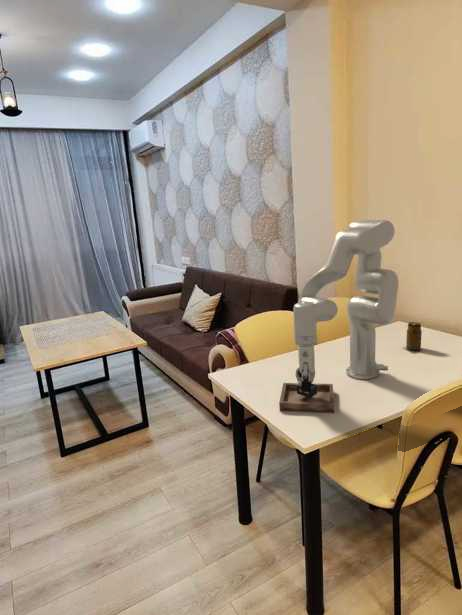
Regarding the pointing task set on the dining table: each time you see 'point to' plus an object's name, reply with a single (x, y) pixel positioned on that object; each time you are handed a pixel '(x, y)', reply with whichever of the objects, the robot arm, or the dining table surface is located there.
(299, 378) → the watch
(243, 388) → the dining table surface
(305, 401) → the tray
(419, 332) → the condiment
